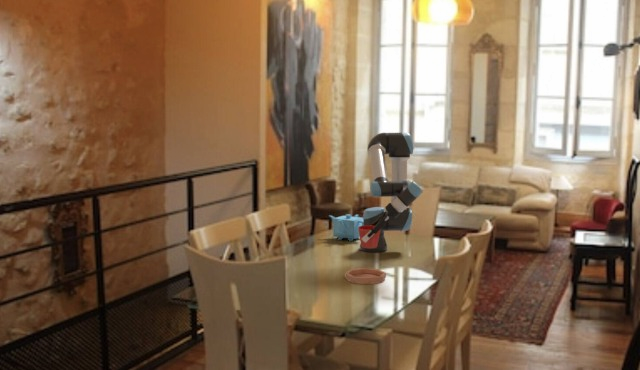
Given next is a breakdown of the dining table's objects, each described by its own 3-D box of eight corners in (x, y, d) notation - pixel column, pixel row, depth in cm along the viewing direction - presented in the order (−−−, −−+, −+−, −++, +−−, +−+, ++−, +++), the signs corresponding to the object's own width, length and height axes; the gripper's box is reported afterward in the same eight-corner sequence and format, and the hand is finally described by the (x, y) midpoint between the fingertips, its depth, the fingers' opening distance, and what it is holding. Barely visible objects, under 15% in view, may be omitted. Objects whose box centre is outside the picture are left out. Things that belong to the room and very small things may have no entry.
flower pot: (379, 249, 330) (379, 229, 329) (356, 248, 332) (356, 229, 331) (381, 244, 340) (381, 225, 339) (359, 243, 342) (360, 224, 341)
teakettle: (367, 241, 399) (367, 216, 397) (337, 242, 394) (337, 217, 392) (357, 234, 417) (357, 211, 415) (328, 236, 412) (328, 212, 410)
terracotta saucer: (372, 272, 328) (372, 266, 328) (392, 281, 312) (392, 275, 312) (339, 276, 321) (339, 270, 320) (357, 286, 304) (358, 280, 304)
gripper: (402, 217, 321) (368, 249, 325) (400, 209, 344) (369, 238, 347) (390, 206, 321) (357, 238, 324) (389, 198, 344) (358, 228, 347)
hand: (363, 238), depth 336 cm, fingers closed on flower pot, 10 cm apart
